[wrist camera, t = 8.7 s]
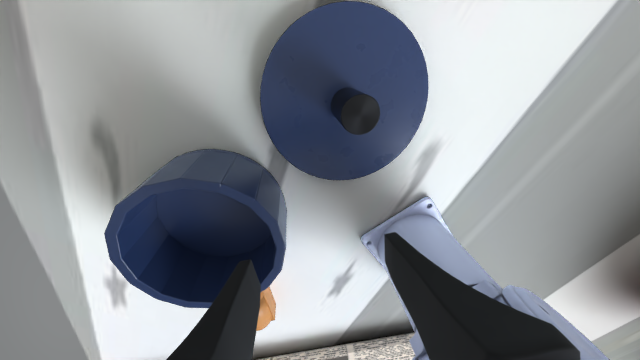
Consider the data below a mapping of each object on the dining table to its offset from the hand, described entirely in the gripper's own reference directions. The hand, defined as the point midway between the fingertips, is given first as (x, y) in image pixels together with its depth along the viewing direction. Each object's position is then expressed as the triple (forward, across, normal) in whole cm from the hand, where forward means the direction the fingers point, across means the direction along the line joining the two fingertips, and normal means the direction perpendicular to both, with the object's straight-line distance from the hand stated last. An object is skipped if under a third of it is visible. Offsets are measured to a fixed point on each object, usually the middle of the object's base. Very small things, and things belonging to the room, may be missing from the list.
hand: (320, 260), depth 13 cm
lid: (+9, -4, -6) cm, 11 cm away
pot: (+9, +8, +1) cm, 12 cm away
